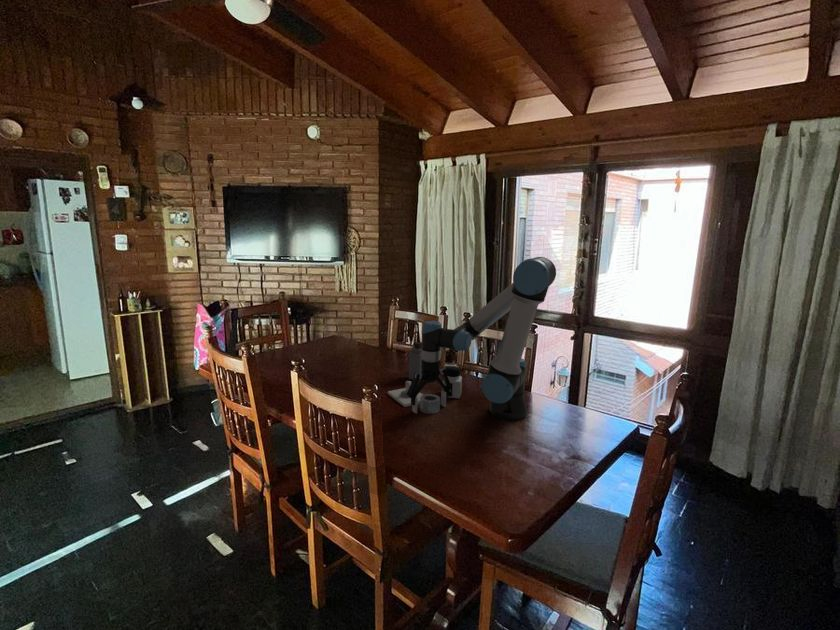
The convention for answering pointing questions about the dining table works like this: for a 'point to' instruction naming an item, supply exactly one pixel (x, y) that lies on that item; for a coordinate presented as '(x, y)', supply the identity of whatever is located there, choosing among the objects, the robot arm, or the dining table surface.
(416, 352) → the perfume bottle
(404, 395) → the shaft block
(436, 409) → the hub
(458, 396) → the container
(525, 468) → the dining table surface
